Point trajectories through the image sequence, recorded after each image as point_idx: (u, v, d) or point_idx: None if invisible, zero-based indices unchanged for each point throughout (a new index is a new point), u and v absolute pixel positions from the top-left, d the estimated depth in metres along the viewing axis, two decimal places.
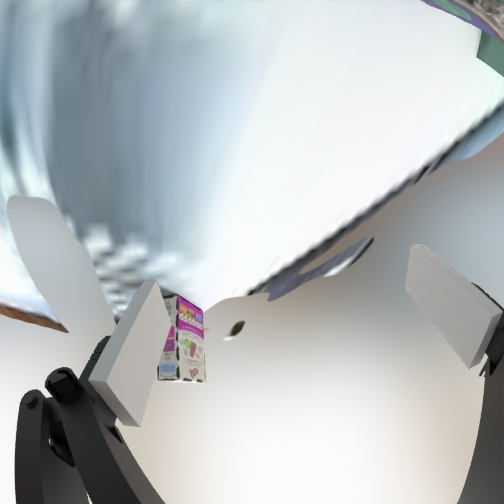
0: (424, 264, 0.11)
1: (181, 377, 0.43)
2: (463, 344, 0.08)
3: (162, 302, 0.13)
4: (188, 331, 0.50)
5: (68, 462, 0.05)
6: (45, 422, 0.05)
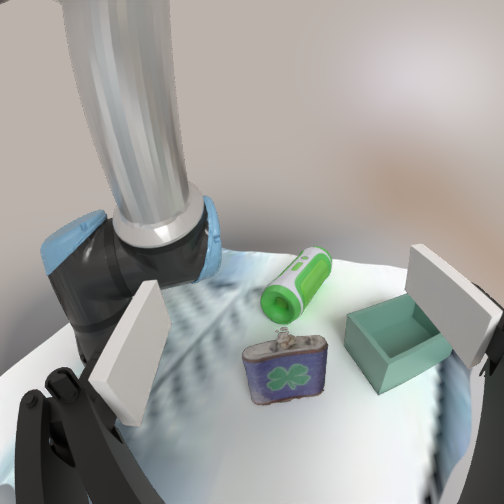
0: (424, 264, 0.11)
1: None
2: (463, 344, 0.08)
3: (162, 302, 0.13)
4: None
5: (68, 462, 0.05)
6: (45, 423, 0.05)
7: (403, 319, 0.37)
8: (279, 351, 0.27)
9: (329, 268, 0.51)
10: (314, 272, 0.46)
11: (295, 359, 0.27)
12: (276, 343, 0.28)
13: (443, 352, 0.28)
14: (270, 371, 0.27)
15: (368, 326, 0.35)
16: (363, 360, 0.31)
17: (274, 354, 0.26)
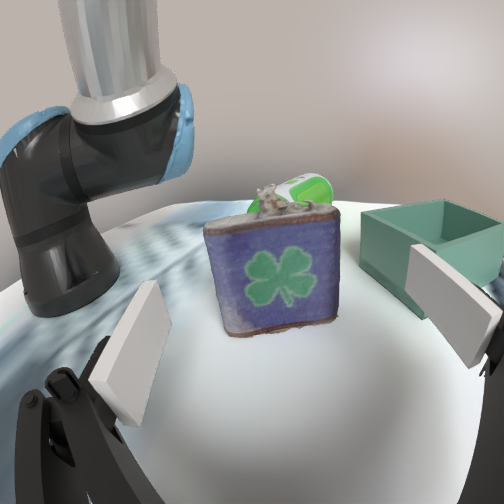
0: (424, 264, 0.11)
1: None
2: (463, 344, 0.08)
3: (162, 302, 0.13)
4: None
5: (68, 462, 0.05)
6: (45, 422, 0.05)
7: (430, 237, 0.28)
8: (262, 218, 0.17)
9: (330, 195, 0.42)
10: (312, 189, 0.37)
11: (289, 235, 0.17)
12: (258, 215, 0.19)
13: (493, 265, 0.19)
14: (249, 259, 0.18)
15: None
16: (392, 271, 0.22)
17: (254, 221, 0.17)
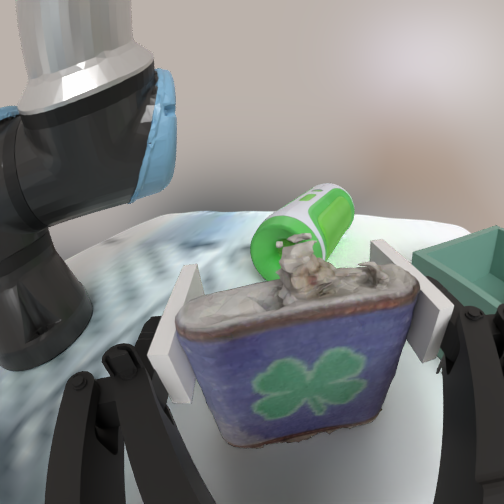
0: (382, 258, 0.12)
1: None
2: (416, 338, 0.09)
3: (201, 285, 0.14)
4: None
5: (110, 448, 0.06)
6: (93, 407, 0.06)
7: (480, 274, 0.19)
8: (287, 306, 0.09)
9: (352, 212, 0.34)
10: (334, 207, 0.29)
11: (335, 333, 0.09)
12: (277, 288, 0.10)
13: None
14: (261, 371, 0.09)
15: None
16: None
17: (272, 314, 0.08)
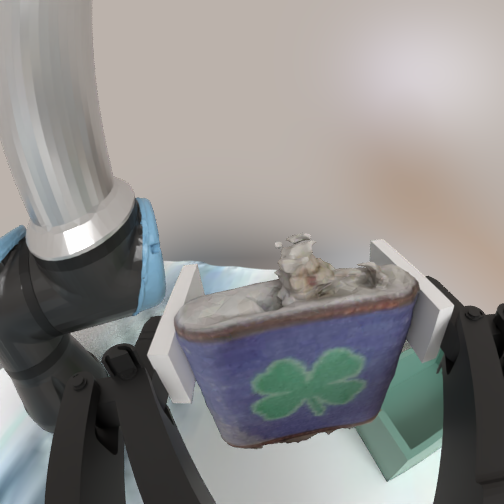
0: (382, 258, 0.12)
1: None
2: (416, 338, 0.09)
3: (201, 285, 0.14)
4: None
5: (110, 448, 0.06)
6: (93, 407, 0.06)
7: (424, 367, 0.25)
8: (286, 306, 0.09)
9: None
10: None
11: (334, 334, 0.09)
12: (277, 289, 0.10)
13: None
14: (261, 371, 0.09)
15: None
16: (370, 438, 0.18)
17: (271, 315, 0.08)
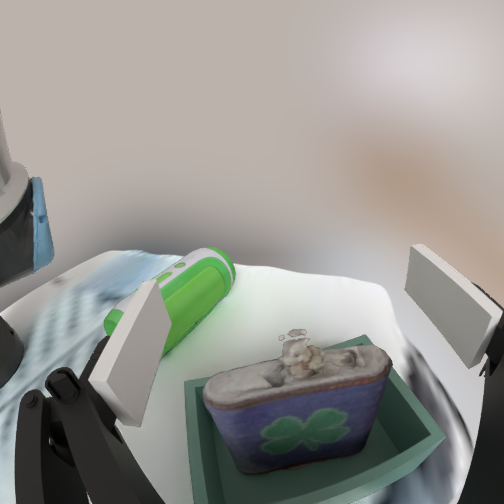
0: (424, 264, 0.11)
1: None
2: (463, 344, 0.08)
3: (162, 302, 0.13)
4: None
5: (68, 462, 0.05)
6: (45, 422, 0.05)
7: None
8: (287, 384, 0.11)
9: (226, 279, 0.34)
10: (188, 287, 0.29)
11: (323, 400, 0.11)
12: (280, 366, 0.12)
13: (394, 478, 0.10)
14: (267, 425, 0.11)
15: None
16: None
17: (275, 392, 0.11)
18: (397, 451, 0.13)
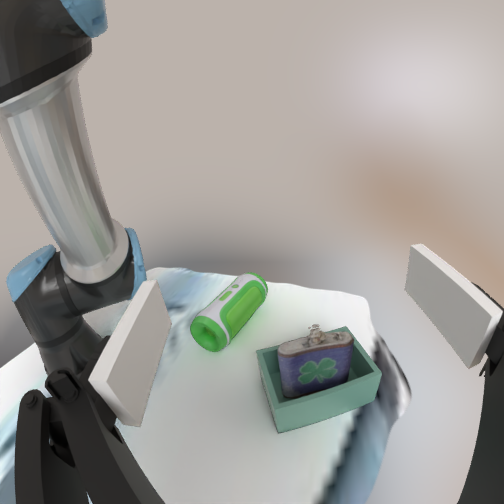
0: (424, 264, 0.11)
1: None
2: (463, 344, 0.08)
3: (162, 302, 0.13)
4: None
5: (68, 462, 0.05)
6: (45, 422, 0.05)
7: None
8: (311, 346, 0.29)
9: (263, 294, 0.53)
10: (243, 300, 0.48)
11: (325, 353, 0.29)
12: (307, 339, 0.30)
13: (361, 398, 0.29)
14: (302, 365, 0.30)
15: None
16: (268, 397, 0.32)
17: (307, 349, 0.29)
18: None
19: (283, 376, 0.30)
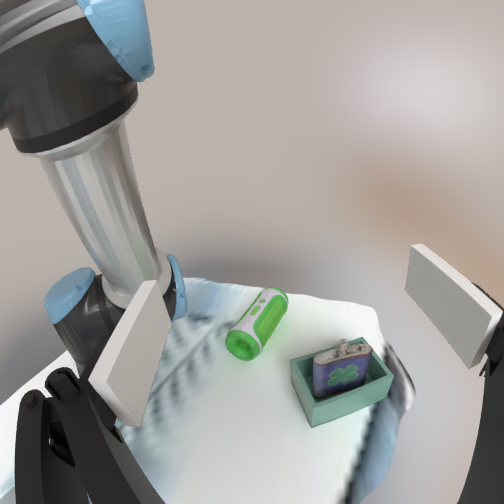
0: (424, 264, 0.11)
1: None
2: (463, 344, 0.08)
3: (162, 302, 0.13)
4: None
5: (68, 462, 0.05)
6: (45, 422, 0.05)
7: None
8: (340, 356, 0.35)
9: (285, 307, 0.59)
10: (270, 314, 0.54)
11: (350, 361, 0.35)
12: (336, 351, 0.36)
13: (376, 396, 0.35)
14: (332, 371, 0.35)
15: (311, 368, 0.42)
16: (301, 398, 0.38)
17: (337, 359, 0.35)
18: None
19: (316, 381, 0.36)
